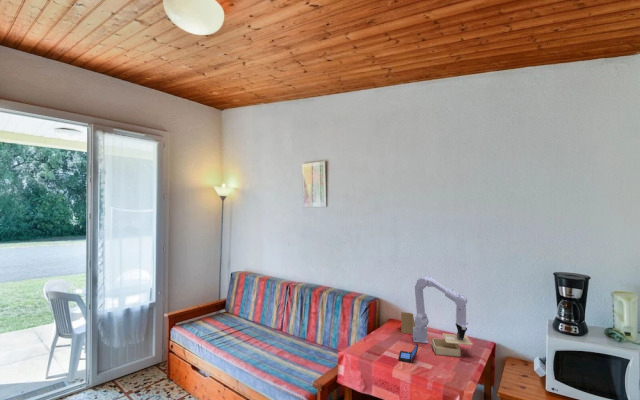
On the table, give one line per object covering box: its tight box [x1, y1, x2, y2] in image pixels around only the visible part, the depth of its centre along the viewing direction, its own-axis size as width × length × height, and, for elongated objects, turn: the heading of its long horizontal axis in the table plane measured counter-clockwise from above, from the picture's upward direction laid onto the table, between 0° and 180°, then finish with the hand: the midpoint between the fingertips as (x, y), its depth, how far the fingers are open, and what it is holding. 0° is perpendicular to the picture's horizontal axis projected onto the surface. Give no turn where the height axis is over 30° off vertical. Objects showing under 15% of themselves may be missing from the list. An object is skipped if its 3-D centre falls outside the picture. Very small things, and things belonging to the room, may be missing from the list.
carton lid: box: [441, 331, 473, 346], centre depth 201 cm, size 15×14×4 cm
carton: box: [431, 337, 462, 358], centre depth 202 cm, size 15×14×4 cm
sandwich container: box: [400, 311, 416, 335], centre depth 237 cm, size 9×15×15 cm, turn 155°
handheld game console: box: [398, 343, 419, 364], centre depth 193 cm, size 12×11×7 cm
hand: (461, 337), depth 201 cm, fingers closed on carton lid, 3 cm apart
